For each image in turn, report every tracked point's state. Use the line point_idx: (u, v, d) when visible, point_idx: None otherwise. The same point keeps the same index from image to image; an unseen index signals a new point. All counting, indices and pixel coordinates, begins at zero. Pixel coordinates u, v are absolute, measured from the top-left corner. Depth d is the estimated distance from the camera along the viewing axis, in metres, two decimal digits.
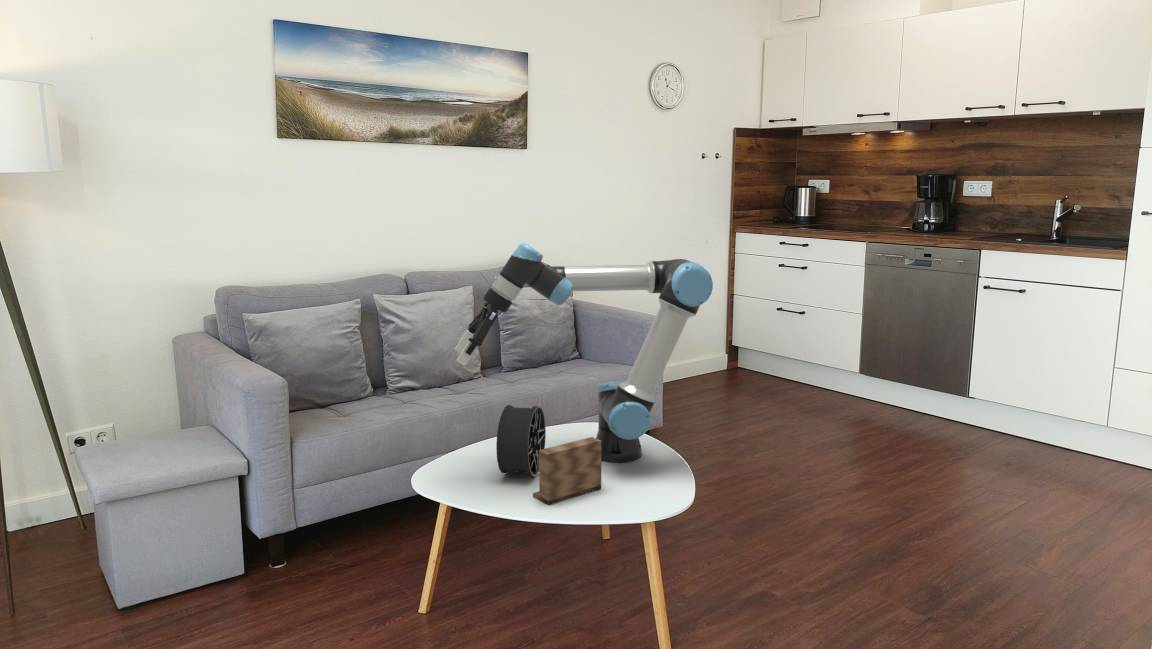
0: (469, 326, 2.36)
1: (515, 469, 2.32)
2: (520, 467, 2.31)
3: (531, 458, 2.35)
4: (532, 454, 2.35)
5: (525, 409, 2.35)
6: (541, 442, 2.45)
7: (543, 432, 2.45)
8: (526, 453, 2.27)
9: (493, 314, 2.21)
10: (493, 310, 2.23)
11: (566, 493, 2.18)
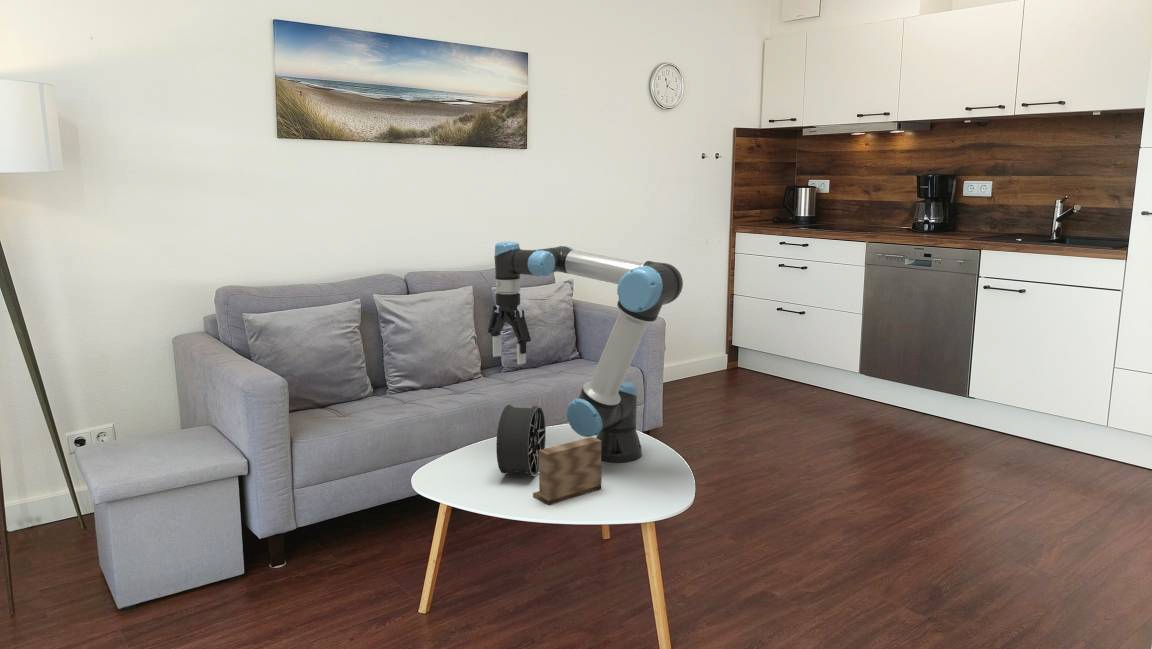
0: (489, 332, 2.60)
1: (515, 469, 2.32)
2: (520, 467, 2.31)
3: (531, 458, 2.35)
4: (532, 454, 2.35)
5: (525, 409, 2.35)
6: (541, 442, 2.45)
7: (543, 432, 2.45)
8: (526, 453, 2.27)
9: (520, 311, 2.47)
10: (514, 308, 2.49)
11: (566, 493, 2.18)
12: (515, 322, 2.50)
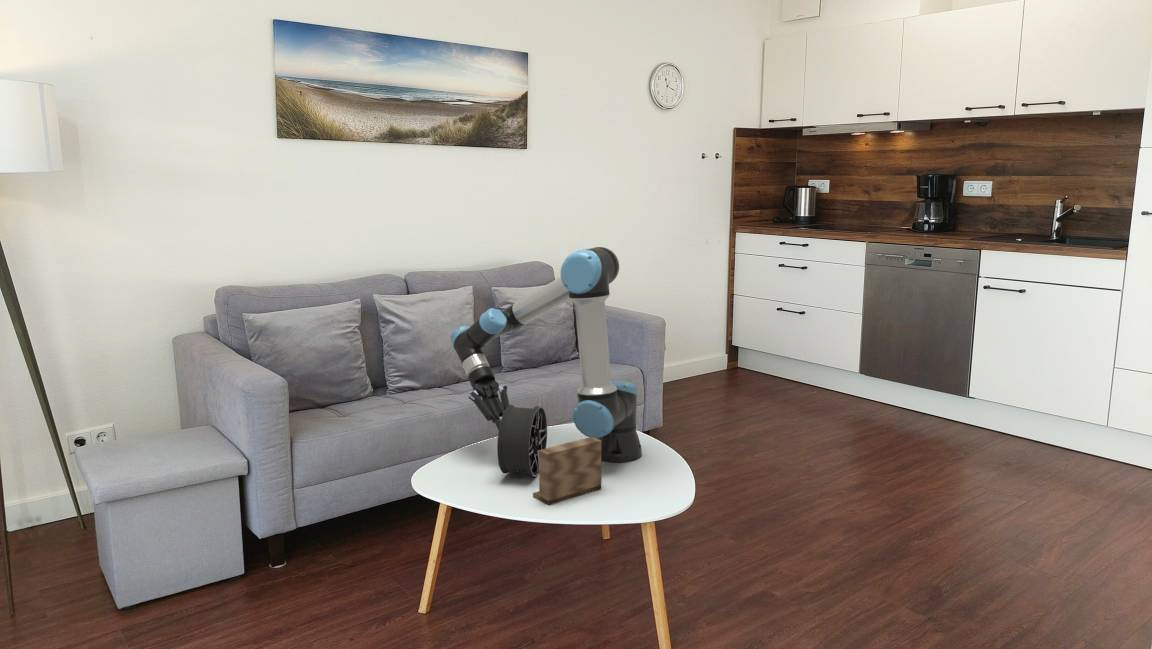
0: None
1: (516, 469, 2.32)
2: (521, 468, 2.30)
3: (532, 458, 2.34)
4: (533, 454, 2.34)
5: (527, 409, 2.34)
6: (542, 442, 2.44)
7: (545, 432, 2.44)
8: (527, 454, 2.26)
9: (470, 396, 2.44)
10: (474, 386, 2.47)
11: (566, 493, 2.18)
12: (485, 400, 2.46)
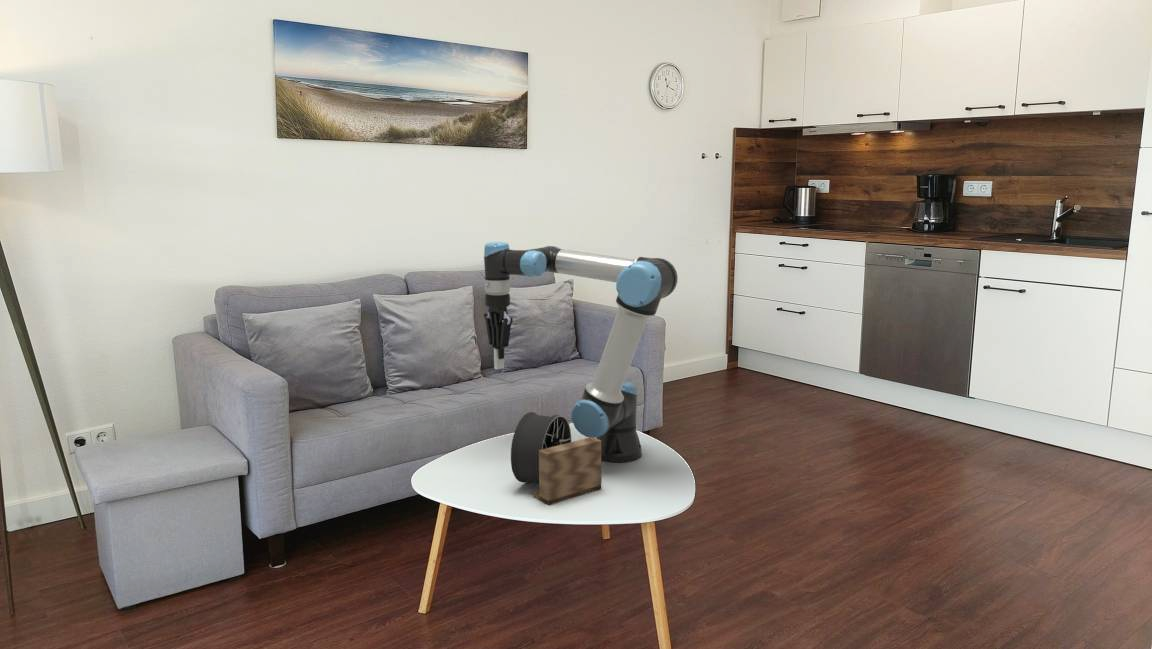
0: (491, 343, 2.54)
1: (531, 479, 2.25)
2: (535, 477, 2.23)
3: None
4: None
5: (545, 417, 2.27)
6: None
7: (568, 442, 2.36)
8: None
9: (509, 320, 2.46)
10: (504, 309, 2.48)
11: (566, 493, 2.18)
12: (501, 326, 2.50)
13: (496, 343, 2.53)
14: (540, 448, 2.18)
